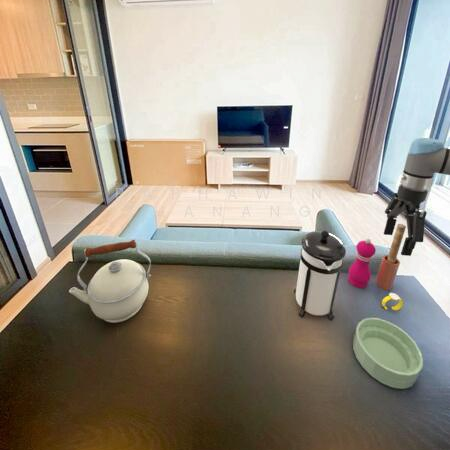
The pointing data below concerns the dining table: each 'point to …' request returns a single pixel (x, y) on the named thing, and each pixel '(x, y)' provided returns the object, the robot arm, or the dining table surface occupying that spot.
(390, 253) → the stirring stick
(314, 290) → the coffee press
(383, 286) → the utensil pot
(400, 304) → the watch
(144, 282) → the kettle
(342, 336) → the dining table surface
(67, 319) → the dining table surface
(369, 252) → the pepper mill
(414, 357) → the bowl
